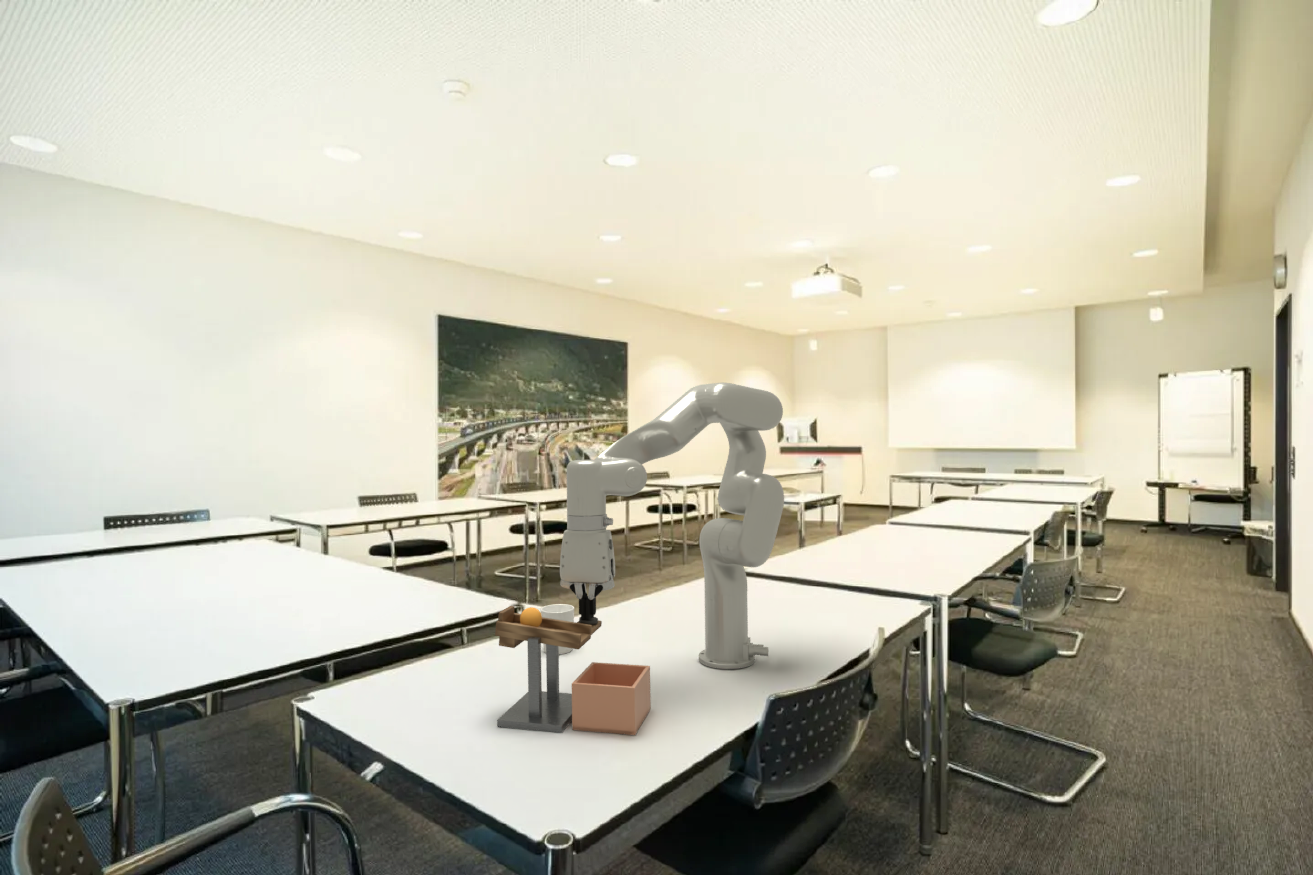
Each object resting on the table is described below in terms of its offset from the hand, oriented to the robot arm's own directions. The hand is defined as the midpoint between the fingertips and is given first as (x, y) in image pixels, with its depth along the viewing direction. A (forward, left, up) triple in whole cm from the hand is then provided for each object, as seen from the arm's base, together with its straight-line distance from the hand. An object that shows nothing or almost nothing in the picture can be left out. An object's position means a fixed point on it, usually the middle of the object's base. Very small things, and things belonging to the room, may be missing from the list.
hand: (587, 618), depth 132 cm
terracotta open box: (-8, +9, -15) cm, 19 cm away
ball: (+8, +9, +2) cm, 12 cm away
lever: (+6, +5, -3) cm, 8 cm away
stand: (+5, +9, -15) cm, 18 cm away
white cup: (+16, -26, -16) cm, 35 cm away
